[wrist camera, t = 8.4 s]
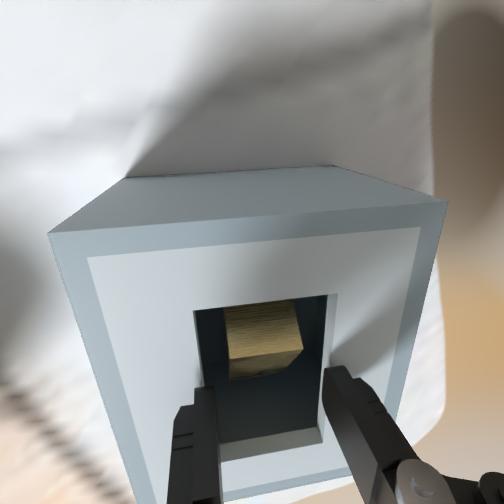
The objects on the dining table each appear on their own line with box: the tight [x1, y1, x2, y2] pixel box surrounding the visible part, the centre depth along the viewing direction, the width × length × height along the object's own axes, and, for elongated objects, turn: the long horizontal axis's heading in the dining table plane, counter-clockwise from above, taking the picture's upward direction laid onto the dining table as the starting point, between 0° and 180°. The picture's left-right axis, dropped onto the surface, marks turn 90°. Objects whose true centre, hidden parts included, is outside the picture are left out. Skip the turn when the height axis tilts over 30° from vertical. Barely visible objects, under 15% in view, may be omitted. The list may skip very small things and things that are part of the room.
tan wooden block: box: [222, 299, 303, 381], centre depth 16 cm, size 6×3×5 cm
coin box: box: [47, 165, 448, 504], centre depth 16 cm, size 14×12×9 cm
